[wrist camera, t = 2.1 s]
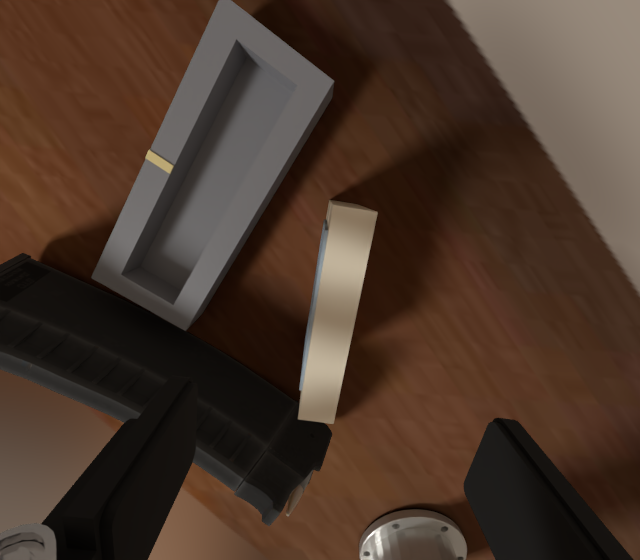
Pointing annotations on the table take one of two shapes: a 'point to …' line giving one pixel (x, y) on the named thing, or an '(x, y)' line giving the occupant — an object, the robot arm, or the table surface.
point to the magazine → (156, 380)
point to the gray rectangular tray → (213, 166)
